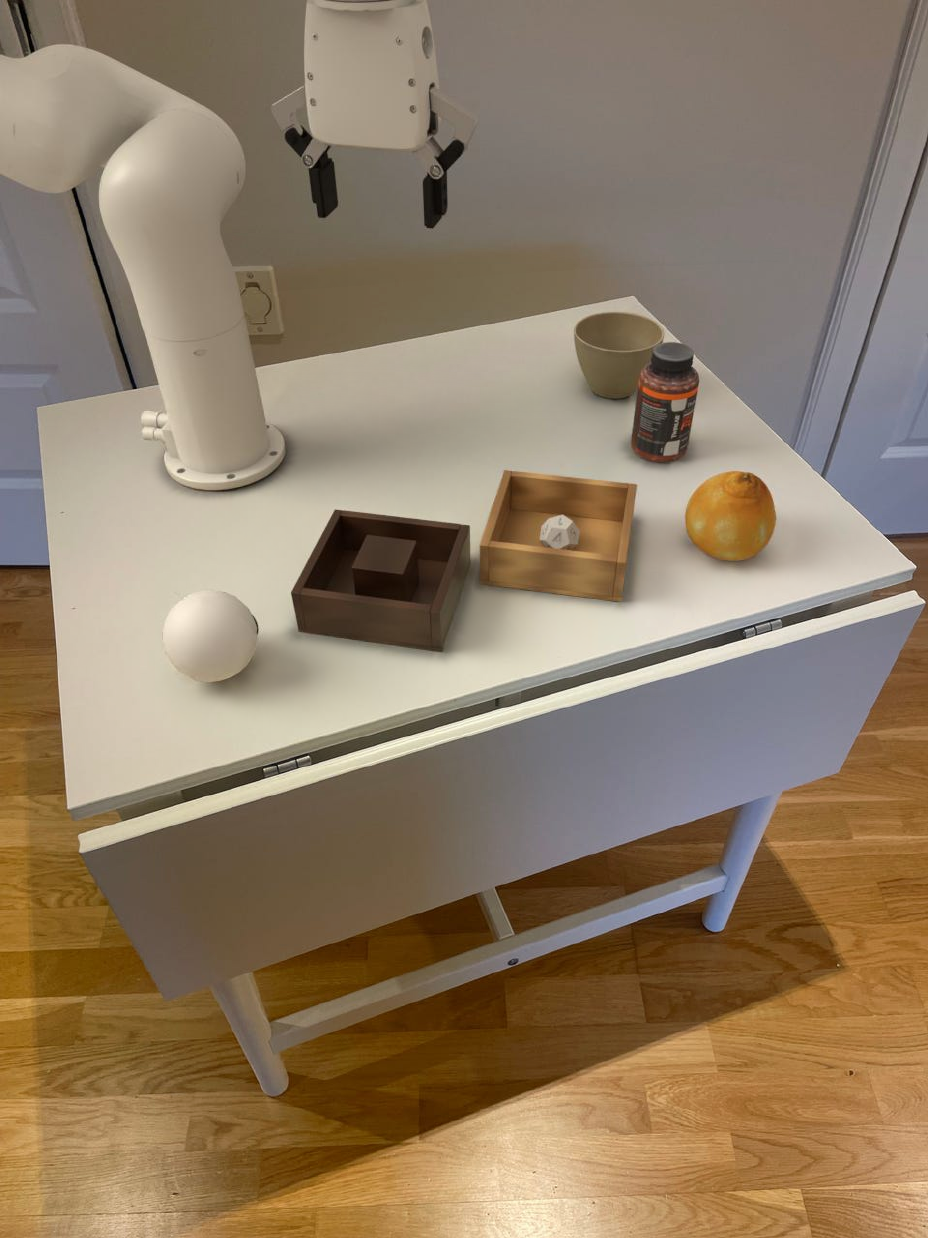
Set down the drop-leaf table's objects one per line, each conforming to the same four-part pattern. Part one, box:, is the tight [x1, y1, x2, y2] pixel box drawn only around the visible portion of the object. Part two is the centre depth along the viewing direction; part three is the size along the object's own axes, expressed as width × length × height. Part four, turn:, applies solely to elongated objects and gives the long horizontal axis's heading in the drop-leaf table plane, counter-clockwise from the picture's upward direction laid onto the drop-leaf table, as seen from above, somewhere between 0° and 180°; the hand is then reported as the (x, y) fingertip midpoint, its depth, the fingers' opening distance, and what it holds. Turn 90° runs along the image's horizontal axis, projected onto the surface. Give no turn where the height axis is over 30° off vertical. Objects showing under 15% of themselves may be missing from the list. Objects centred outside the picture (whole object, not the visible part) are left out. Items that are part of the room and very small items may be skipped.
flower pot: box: [573, 311, 665, 400], centre depth 104 cm, size 10×10×7 cm
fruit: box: [684, 470, 777, 562], centre depth 83 cm, size 8×8×8 cm
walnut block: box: [352, 535, 419, 602], centre depth 79 cm, size 4×4×4 cm
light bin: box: [479, 469, 638, 603], centre depth 83 cm, size 13×12×4 cm
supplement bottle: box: [630, 341, 700, 463], centre depth 93 cm, size 6×6×11 cm
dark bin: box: [290, 509, 472, 653], centre depth 79 cm, size 13×12×4 cm
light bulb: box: [162, 589, 259, 683], centre depth 73 cm, size 10×7×7 cm
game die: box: [539, 515, 580, 550], centre depth 83 cm, size 4×4×3 cm
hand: (380, 217), depth 78 cm, fingers open, 9 cm apart
